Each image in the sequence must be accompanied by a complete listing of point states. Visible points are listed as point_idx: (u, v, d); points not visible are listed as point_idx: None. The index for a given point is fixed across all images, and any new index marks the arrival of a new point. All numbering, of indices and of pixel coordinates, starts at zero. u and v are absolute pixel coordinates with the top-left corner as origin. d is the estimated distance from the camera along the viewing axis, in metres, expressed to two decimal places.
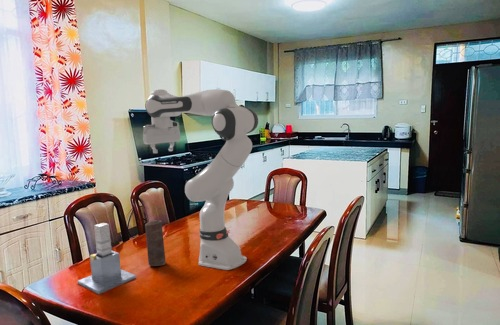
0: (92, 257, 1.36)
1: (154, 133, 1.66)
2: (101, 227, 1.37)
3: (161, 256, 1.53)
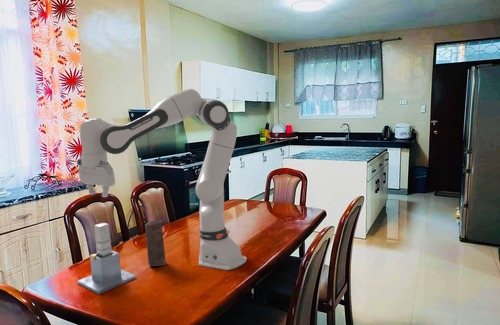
0: (92, 257, 1.36)
1: None
2: (101, 227, 1.37)
3: (161, 256, 1.53)
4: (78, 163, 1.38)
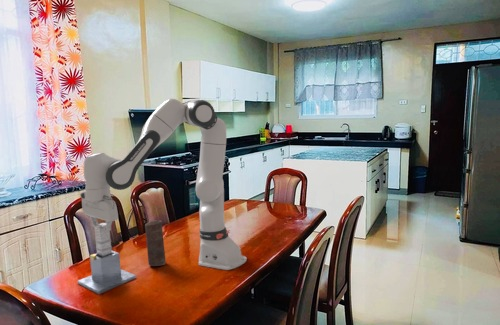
0: (92, 257, 1.36)
1: None
2: (101, 227, 1.37)
3: (161, 256, 1.53)
4: (81, 196, 1.39)
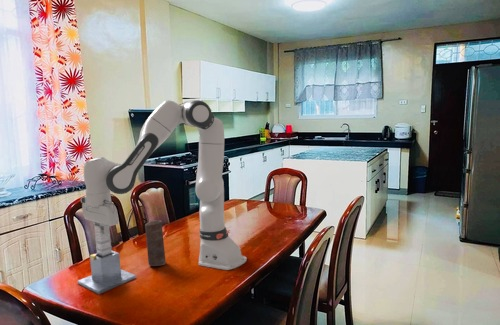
0: (92, 257, 1.36)
1: None
2: (101, 227, 1.37)
3: (161, 256, 1.53)
4: (82, 201, 1.40)
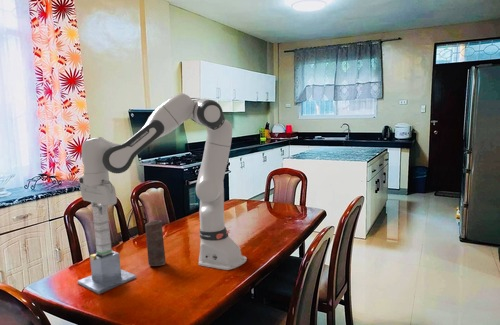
0: (92, 257, 1.36)
1: None
2: (99, 208, 1.36)
3: (161, 256, 1.53)
4: (80, 181, 1.39)
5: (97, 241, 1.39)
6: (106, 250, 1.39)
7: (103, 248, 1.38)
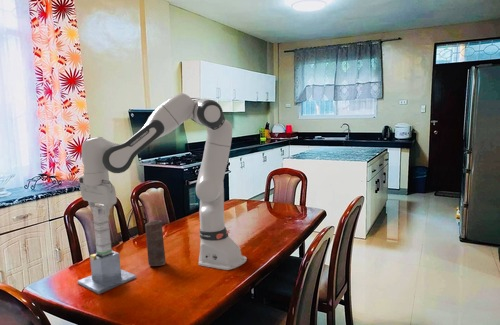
0: (92, 257, 1.36)
1: None
2: (99, 208, 1.36)
3: (161, 256, 1.53)
4: (80, 181, 1.38)
5: (97, 241, 1.39)
6: (106, 250, 1.39)
7: (103, 248, 1.38)
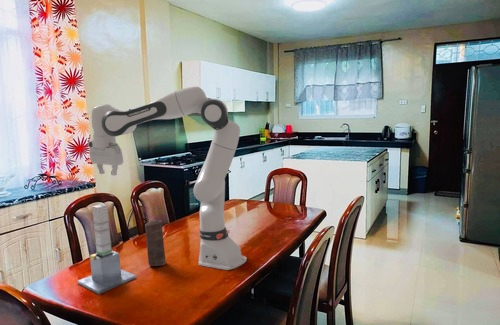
0: (92, 257, 1.36)
1: None
2: (99, 208, 1.36)
3: (161, 256, 1.53)
4: (89, 145, 1.53)
5: (97, 241, 1.39)
6: (106, 250, 1.39)
7: (103, 248, 1.38)
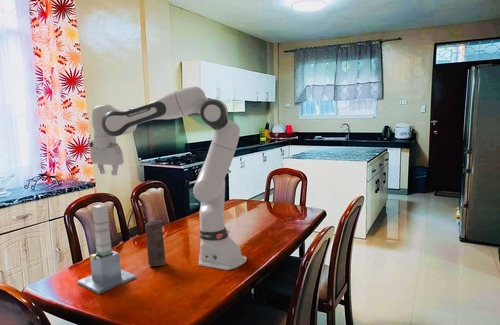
0: (92, 257, 1.36)
1: None
2: (99, 208, 1.36)
3: (161, 256, 1.53)
4: (90, 145, 1.53)
5: (97, 241, 1.39)
6: (106, 250, 1.39)
7: (103, 248, 1.38)
